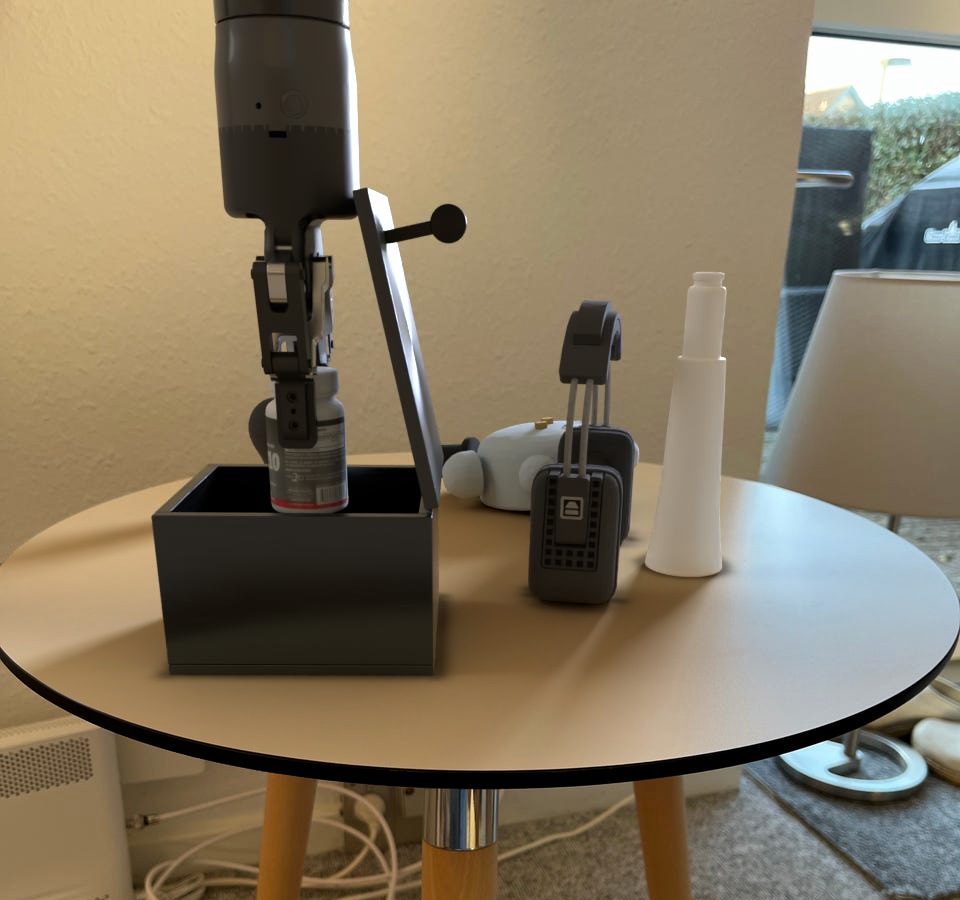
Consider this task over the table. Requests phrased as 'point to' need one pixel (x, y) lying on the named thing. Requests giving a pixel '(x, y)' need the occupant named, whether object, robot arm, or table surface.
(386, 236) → the dark grey box lid
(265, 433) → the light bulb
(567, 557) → the headphones
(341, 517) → the dark grey open box
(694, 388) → the cosmetic bottle
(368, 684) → the table surface
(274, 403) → the pill bottle
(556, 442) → the figurine
